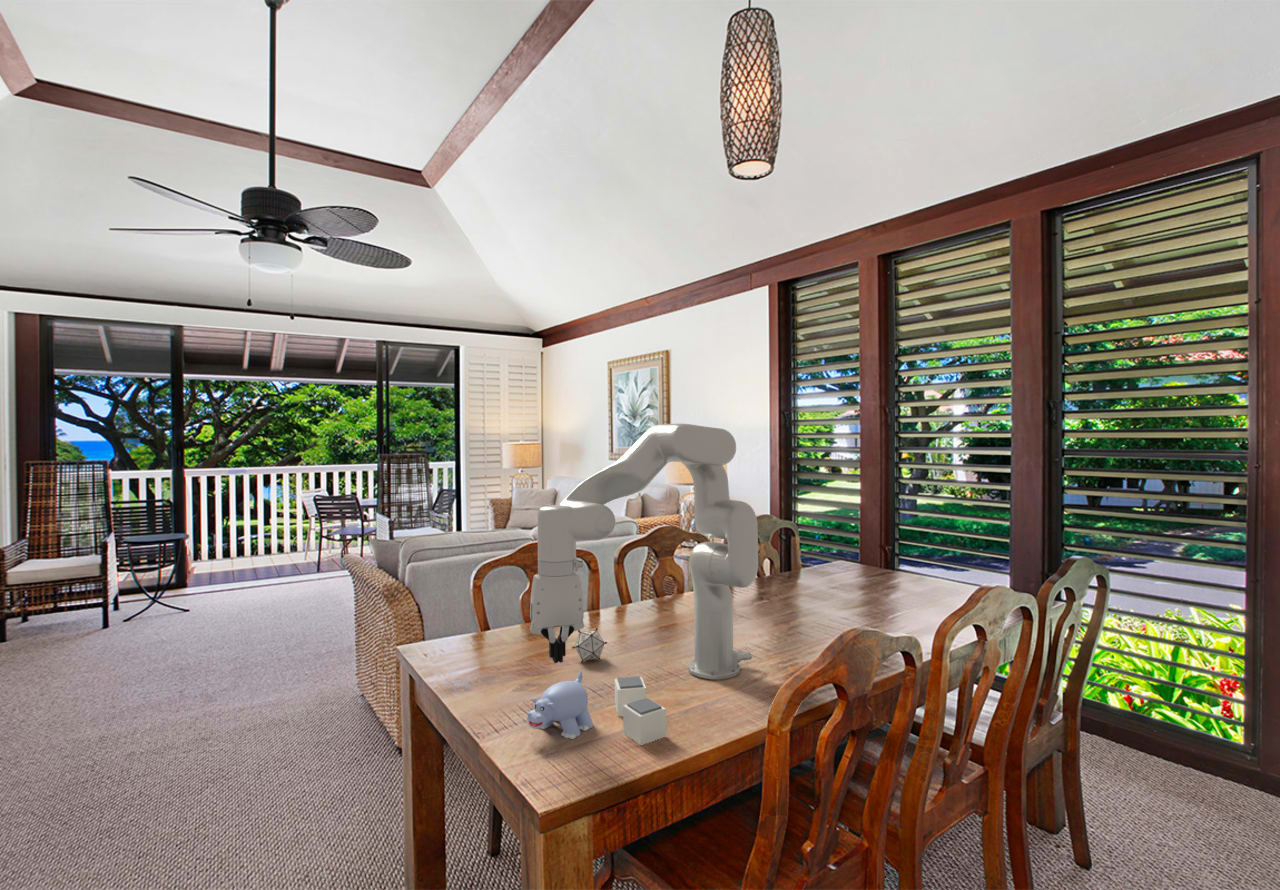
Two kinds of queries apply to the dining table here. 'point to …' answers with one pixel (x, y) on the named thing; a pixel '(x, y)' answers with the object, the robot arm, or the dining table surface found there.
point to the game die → (589, 645)
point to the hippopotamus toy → (562, 708)
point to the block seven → (644, 721)
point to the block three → (628, 691)
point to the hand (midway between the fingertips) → (557, 660)
